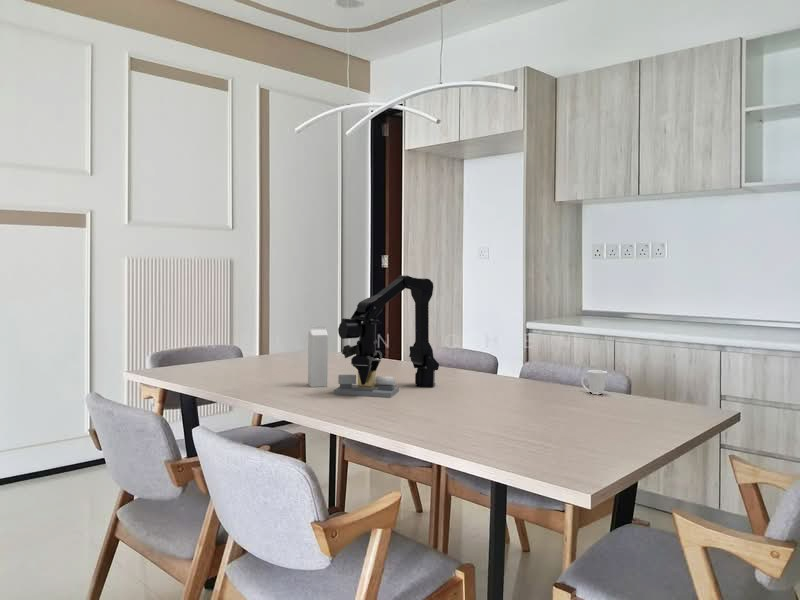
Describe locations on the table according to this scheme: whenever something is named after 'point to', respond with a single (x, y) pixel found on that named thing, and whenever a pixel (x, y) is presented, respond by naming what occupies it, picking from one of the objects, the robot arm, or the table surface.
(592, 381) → the cup
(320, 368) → the milk
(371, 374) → the gold square block
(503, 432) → the table surface
